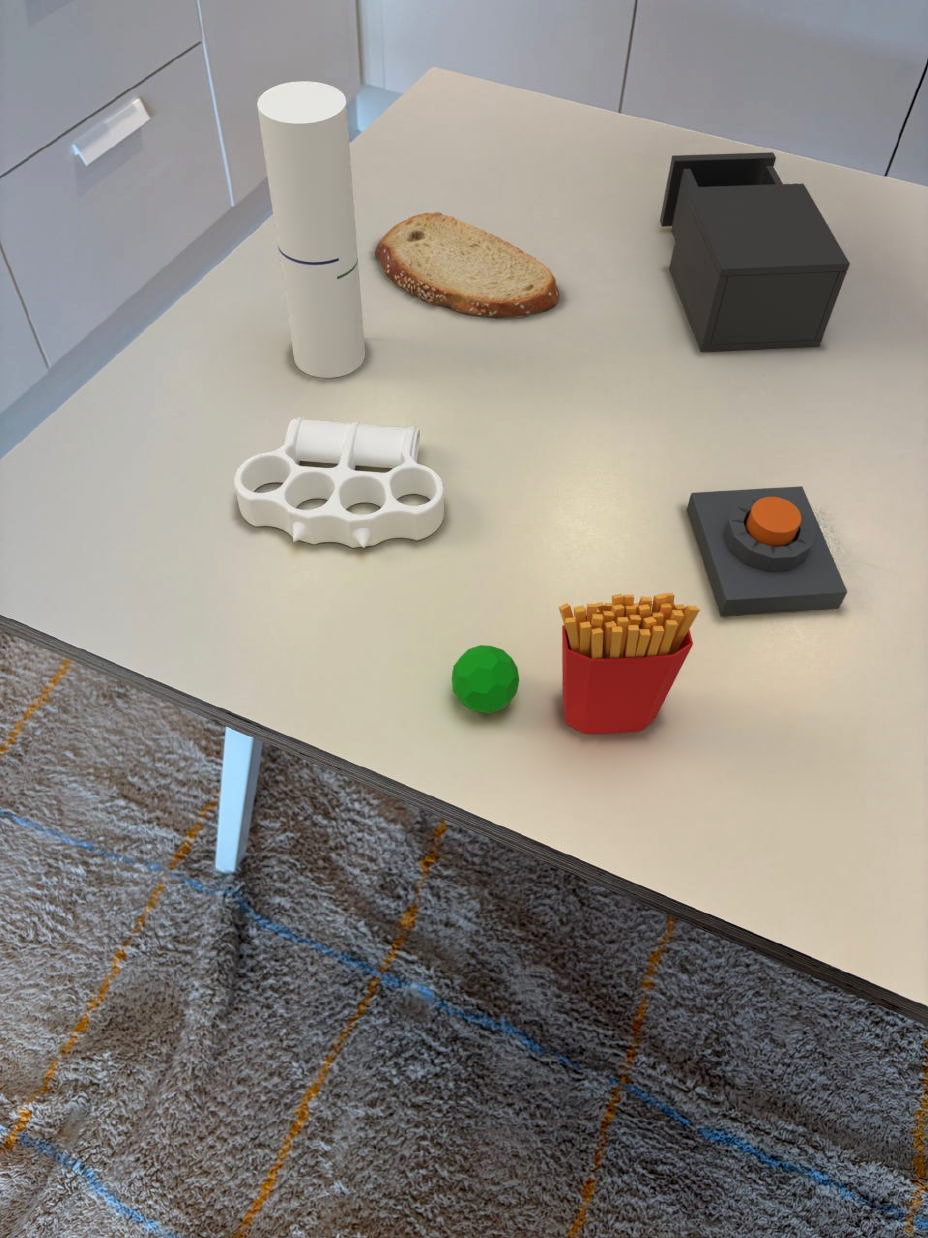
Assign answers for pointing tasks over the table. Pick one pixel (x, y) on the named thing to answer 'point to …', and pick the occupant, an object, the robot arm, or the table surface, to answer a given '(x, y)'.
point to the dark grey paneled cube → (756, 267)
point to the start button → (773, 521)
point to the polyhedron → (485, 679)
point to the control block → (763, 556)
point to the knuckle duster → (342, 484)
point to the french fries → (622, 660)
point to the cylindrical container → (314, 223)
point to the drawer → (713, 177)
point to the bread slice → (465, 268)
